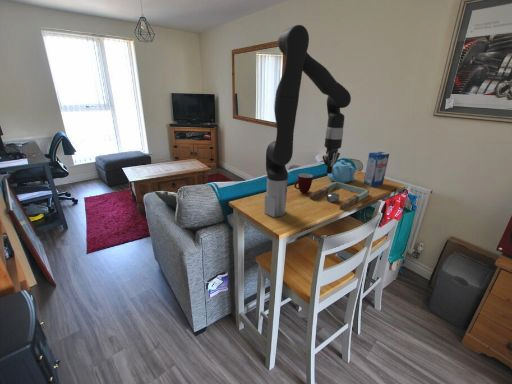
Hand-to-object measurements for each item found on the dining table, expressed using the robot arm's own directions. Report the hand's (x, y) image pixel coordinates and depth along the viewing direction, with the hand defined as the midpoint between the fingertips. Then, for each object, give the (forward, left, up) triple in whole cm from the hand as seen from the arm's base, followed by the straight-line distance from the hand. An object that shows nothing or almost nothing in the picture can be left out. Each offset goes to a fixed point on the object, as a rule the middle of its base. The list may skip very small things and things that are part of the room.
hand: (329, 173), depth 123 cm
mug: (+6, +18, -17) cm, 26 cm away
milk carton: (+51, -5, -17) cm, 54 cm away
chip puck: (+8, 0, -17) cm, 19 cm away
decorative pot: (+42, +13, -17) cm, 47 cm away
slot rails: (+9, 0, -17) cm, 19 cm away
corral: (+23, 0, -17) cm, 29 cm away
